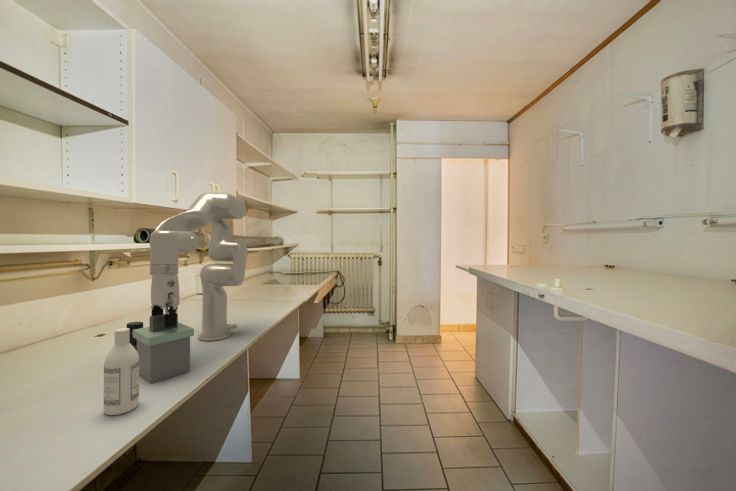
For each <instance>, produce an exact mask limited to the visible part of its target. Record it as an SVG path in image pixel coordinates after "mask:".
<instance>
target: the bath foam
mask: <svg viewBox="0 0 736 491" xmlns="http://www.w3.org/2000/svg"><path fill="white" fill-rule="evenodd" d="M129 339H130V329H129V328H126V327H121V328H117V329H115V330H114V345H113V346H112V347H111V348H110V350H109V352H108V353H107V355H106V356H105V359H104V364H103V414H105V415H107V416H118V415H123V414H126V413H128V412H131V411H132V410H134V409H135V408H137V406H138V405H139V403H140V400H139V399H140V376H139V356H138V353H137V351H136V349H135V348H134V347H133V346H132V345H131V344H130V343H129Z"/></svg>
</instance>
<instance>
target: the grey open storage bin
mask: <svg viewBox="0 0 736 491" xmlns="http://www.w3.org/2000/svg"><path fill="white" fill-rule="evenodd" d="M137 353H138V356H139V377H140V378H142V379H144V380H145V381H146V382H148V384H153V383H156V382H160V381H162V380H166V379H169V378H172V377H175V376H179V375H182V374H185V373H188V372H190V371H191V336H190V337H186V338H182V339H177V340H173V341H168V342H164V343H160V344H155V345H151V346H148V345H146V344H144V343H142V342H141V341H139V340H137Z"/></svg>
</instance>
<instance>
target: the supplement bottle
mask: <svg viewBox="0 0 736 491" xmlns="http://www.w3.org/2000/svg"><path fill="white" fill-rule="evenodd" d="M125 328H129V329H130V339H129V343H130V344H131V345H132V346H133V347H134V348H135V349H136V351H137V339H135V338H134V337H133V330H134V329H140V328H144V322H143V321H131V322H128V323H126V327H125Z"/></svg>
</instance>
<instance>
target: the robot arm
mask: <svg viewBox="0 0 736 491" xmlns="http://www.w3.org/2000/svg"><path fill="white" fill-rule="evenodd" d="M246 215H247V207H246V204H245V202H244V201H243V200H242V199H241V198H238V197H237V196H235V195H233V194H231V193H227V192H222V193H221V192H205V193H202V194H200V195H198V196H197V198H196V199H195V200H194V202H193V203H192V204H191V205H190V206H189V207H188V209H187V210H186V211H183V212H180V213H178V214H176V215H174V216H170V217H169V218H167V219H164V220H163V221H161V222H160V223H159V225H157V227H155V229H154V230H153V231H151V233H150V236H149V237H150V238H149V247H150V248H149V276H151V284H150V285H151V286H150V302H151V307H150V308H151V313H150V314H151V315H150V316H155V315H162V314H164V327H166V328H167V327H172V326H176V320H177V314H178V307H179V305H180V284H179V283H180V282H179V276H178V275H179V257H180V256H179V254H190V253H193V252H195V250H197V248H198V247H199V242H200V240H199V236H197V234H196V233H194V232H195V231H197V230H201V229H203V228H206V227H207V226H208V225H209V224H210V226H211V228H210V229H211V233H210V240H209V246H208V251H207V252H208V258H209V259H210V260H211V261H214V262H225V263H209V264H206V265H204V266H203V267H201V269H200V272H199V274H200V276H199V278H200V283H201V289H202V290H201V291H202V309H201V310H202V316H201V318H202V319H201V320H202V321H201V322H202V323H201V326H202V328H201V332H200V333H199V334H198V335H197V339H198V340H199V341H203V342H215V341H220V340H224V339H227V338H229V337H230V336H231V330H235V329H237V328H238V324H237V323H235V324H230V323H229V324H228V321H227V320H228V294H227V292H226V291H225V288H224V287H239V286H241V285H243V283H244V281H245V275H246V267H247V261H248V260H247V259H248V246H247V244H246V243H245V242H244V241H243V240H240V239H239V240H238V239H237V240H236V239H232V238H233V228H232V227H231V225H230V224H229V223H228V222H227V220H241V219H243V218H244V217H246ZM226 262H232V263H226ZM164 312H165V313H164Z"/></svg>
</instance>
